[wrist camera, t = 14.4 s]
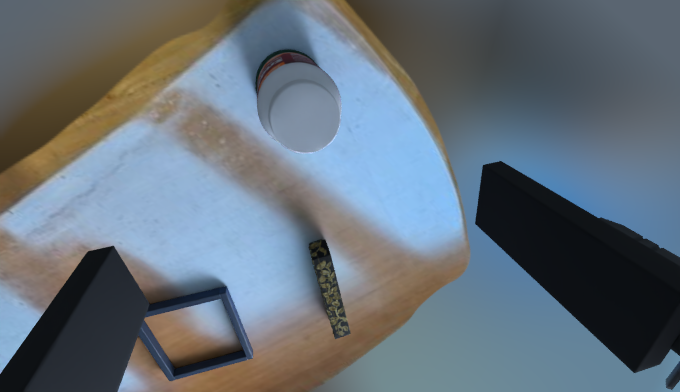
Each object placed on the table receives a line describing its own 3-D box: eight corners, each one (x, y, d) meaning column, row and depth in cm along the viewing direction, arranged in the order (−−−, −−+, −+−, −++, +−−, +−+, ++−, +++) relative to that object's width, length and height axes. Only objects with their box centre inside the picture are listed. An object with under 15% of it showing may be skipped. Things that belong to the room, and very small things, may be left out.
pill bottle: (267, 40, 27) (273, 51, 18) (332, 66, 30) (367, 88, 20) (249, 108, 30) (246, 150, 20) (310, 128, 32) (333, 173, 23)
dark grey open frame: (129, 309, 38) (125, 317, 37) (226, 285, 40) (226, 292, 39) (171, 373, 45) (169, 381, 44) (253, 351, 47) (253, 358, 46)
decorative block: (307, 242, 40) (311, 260, 37) (325, 237, 40) (331, 255, 37) (330, 320, 47) (335, 341, 44) (345, 315, 48) (351, 335, 45)
